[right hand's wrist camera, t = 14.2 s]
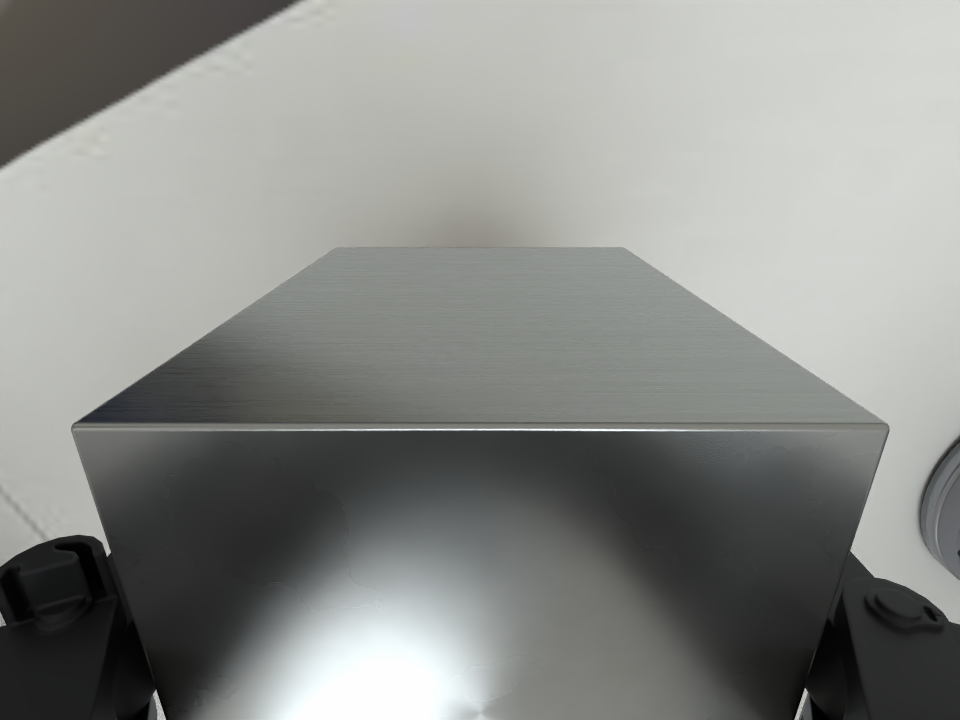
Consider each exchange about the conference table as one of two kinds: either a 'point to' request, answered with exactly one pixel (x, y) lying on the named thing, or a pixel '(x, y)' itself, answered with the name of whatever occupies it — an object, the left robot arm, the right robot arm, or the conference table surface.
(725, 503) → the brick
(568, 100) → the conference table surface
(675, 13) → the conference table surface
